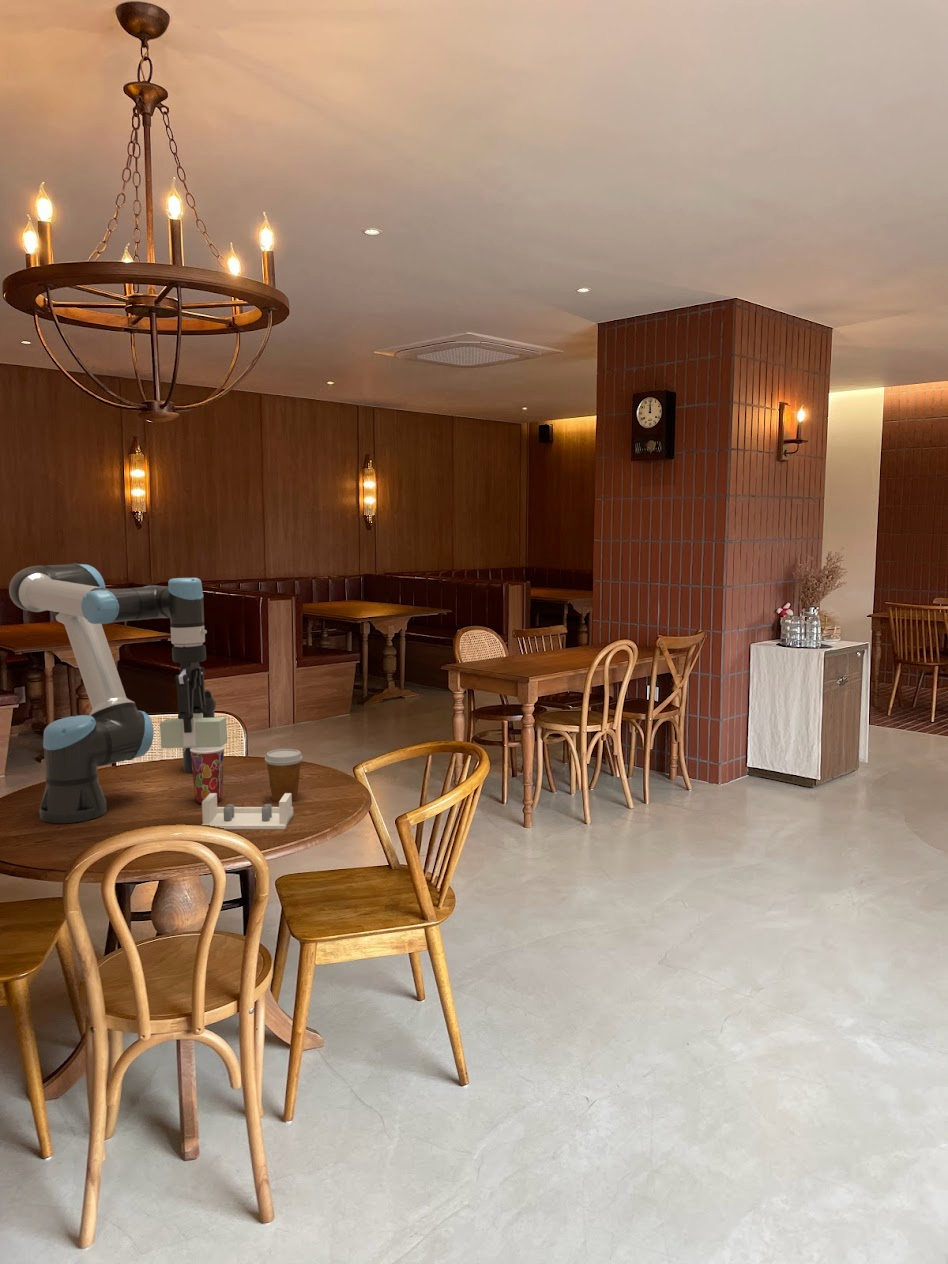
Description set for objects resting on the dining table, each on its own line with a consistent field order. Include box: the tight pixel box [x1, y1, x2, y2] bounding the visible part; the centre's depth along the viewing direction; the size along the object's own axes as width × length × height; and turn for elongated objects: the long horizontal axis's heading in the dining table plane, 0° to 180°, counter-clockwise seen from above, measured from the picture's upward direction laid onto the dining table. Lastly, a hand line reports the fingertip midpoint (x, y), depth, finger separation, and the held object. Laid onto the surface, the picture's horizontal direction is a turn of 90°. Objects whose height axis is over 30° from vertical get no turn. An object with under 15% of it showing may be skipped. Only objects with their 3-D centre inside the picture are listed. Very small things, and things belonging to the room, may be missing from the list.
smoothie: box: [190, 745, 225, 804], centre depth 243 cm, size 8×8×20 cm
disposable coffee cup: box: [264, 748, 303, 803], centre depth 245 cm, size 10×10×12 cm
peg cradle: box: [201, 793, 294, 830], centre depth 227 cm, size 20×11×6 cm, turn 90°
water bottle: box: [181, 689, 216, 775], centre depth 272 cm, size 10×10×23 cm
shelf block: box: [159, 716, 228, 749], centre depth 223 cm, size 14×5×6 cm, turn 87°
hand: (194, 743), depth 223 cm, fingers closed on shelf block, 5 cm apart
